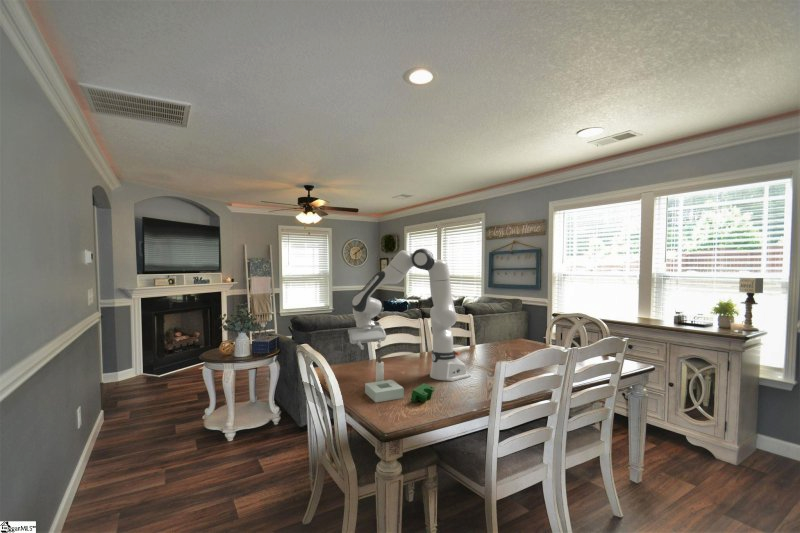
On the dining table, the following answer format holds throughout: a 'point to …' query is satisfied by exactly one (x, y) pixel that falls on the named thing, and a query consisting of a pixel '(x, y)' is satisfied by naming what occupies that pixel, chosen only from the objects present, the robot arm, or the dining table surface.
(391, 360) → the dining table surface
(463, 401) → the dining table surface
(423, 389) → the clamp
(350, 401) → the dining table surface
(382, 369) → the white bottle
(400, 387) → the housing
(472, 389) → the dining table surface
